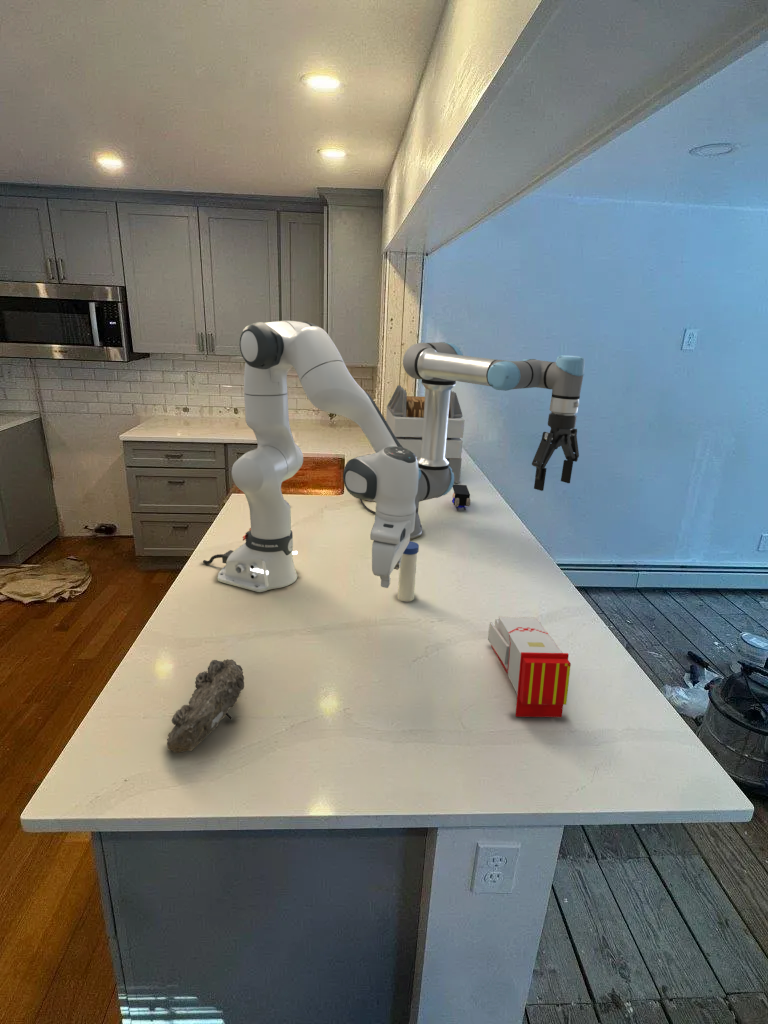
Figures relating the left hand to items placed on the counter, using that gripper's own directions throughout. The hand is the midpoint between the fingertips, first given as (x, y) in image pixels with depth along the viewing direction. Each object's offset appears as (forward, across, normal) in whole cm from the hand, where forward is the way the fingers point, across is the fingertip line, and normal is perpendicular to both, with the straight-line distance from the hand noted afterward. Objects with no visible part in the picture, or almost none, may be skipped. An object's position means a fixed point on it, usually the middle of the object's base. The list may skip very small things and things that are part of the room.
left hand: (390, 576), depth 130 cm
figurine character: (+19, -104, +2) cm, 106 cm away
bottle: (+17, -22, 0) cm, 28 cm away
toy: (+16, +4, +32) cm, 36 cm away
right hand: (-11, -52, +34) cm, 64 cm away
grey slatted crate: (+20, -146, -23) cm, 150 cm away
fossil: (+17, +37, -24) cm, 47 cm away
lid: (+2, -22, -1) cm, 22 cm away
